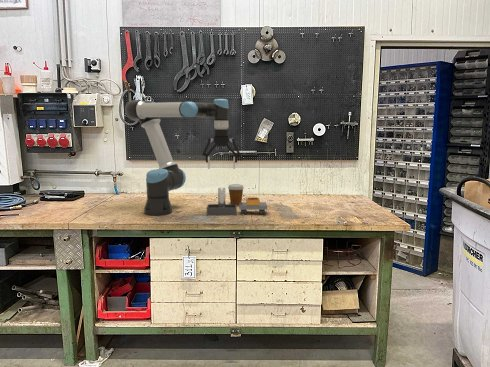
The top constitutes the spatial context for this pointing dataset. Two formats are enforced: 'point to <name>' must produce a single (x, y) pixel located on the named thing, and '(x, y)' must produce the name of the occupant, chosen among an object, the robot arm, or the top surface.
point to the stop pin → (221, 197)
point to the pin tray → (221, 209)
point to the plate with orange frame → (252, 205)
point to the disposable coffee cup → (235, 193)
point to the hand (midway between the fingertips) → (221, 168)
